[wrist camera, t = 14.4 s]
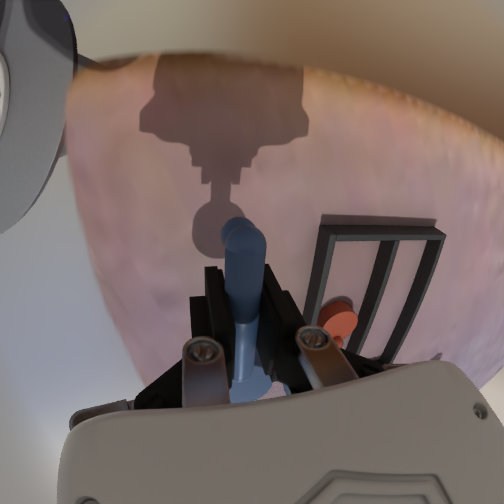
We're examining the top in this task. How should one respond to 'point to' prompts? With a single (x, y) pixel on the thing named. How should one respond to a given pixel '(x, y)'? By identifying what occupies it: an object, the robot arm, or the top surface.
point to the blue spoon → (245, 304)
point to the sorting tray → (375, 277)
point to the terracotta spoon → (338, 321)
